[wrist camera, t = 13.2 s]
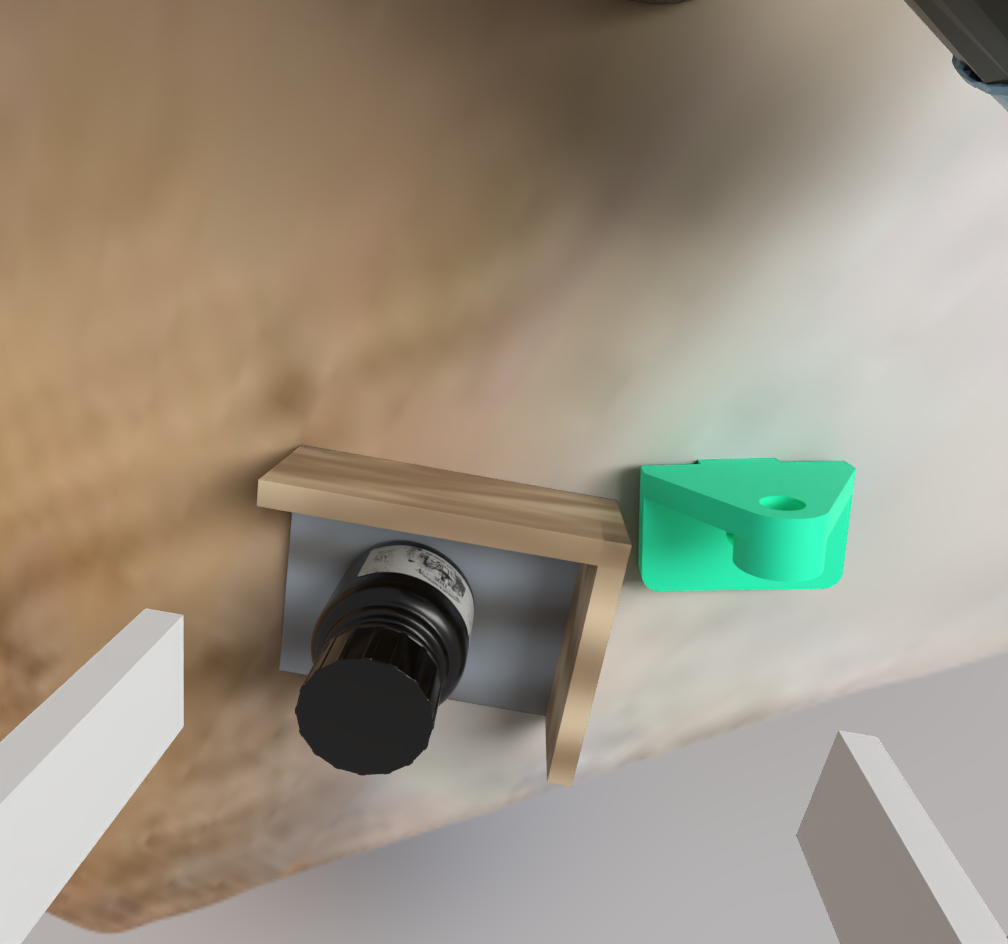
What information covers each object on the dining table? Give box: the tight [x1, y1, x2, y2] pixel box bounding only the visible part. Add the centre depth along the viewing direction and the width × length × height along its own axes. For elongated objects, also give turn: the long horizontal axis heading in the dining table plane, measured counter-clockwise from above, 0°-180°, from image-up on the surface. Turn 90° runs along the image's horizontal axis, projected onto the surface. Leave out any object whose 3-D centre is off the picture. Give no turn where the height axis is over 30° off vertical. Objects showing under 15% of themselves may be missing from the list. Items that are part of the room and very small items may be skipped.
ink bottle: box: [295, 541, 475, 775], centre depth 39 cm, size 10×9×12 cm
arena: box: [257, 445, 632, 786], centre depth 42 cm, size 16×20×7 cm
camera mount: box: [638, 458, 856, 591], centre depth 38 cm, size 12×8×10 cm, turn 92°
